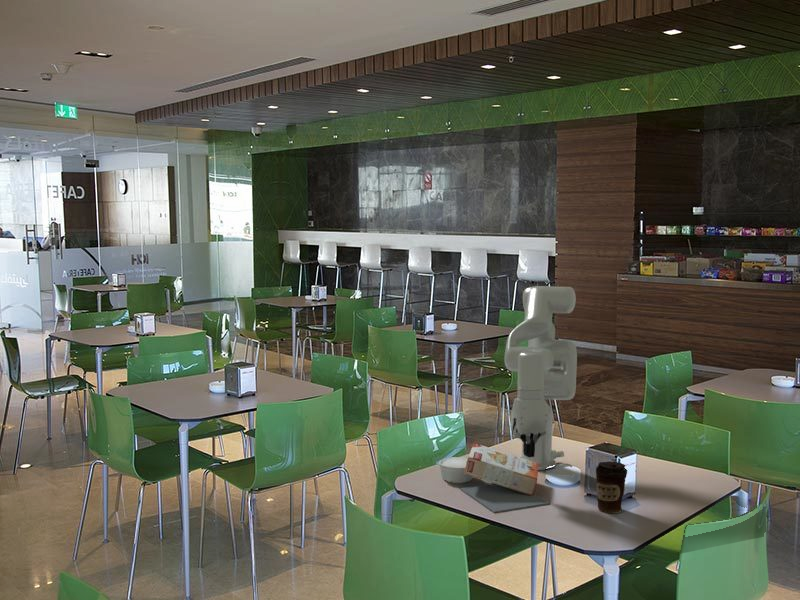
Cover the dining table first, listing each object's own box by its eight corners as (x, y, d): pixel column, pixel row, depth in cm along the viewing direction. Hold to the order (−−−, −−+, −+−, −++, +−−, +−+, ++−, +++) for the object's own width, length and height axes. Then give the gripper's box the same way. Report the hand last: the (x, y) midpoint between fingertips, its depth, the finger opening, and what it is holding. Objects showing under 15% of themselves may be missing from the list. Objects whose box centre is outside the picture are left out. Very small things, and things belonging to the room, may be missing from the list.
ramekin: (434, 474, 247) (434, 458, 246) (468, 471, 249) (468, 455, 249) (445, 486, 236) (445, 469, 235) (480, 483, 238) (480, 466, 238)
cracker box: (538, 477, 225) (468, 456, 228) (532, 496, 226) (463, 475, 229) (539, 461, 239) (473, 441, 242) (534, 479, 240) (468, 459, 243)
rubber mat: (512, 482, 239) (513, 480, 239) (549, 504, 221) (549, 502, 221) (460, 489, 232) (460, 488, 232) (493, 513, 214) (493, 511, 214)
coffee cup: (621, 518, 211) (622, 471, 210) (590, 512, 215) (592, 466, 214) (628, 507, 218) (630, 462, 217) (599, 502, 223) (600, 457, 221)
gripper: (544, 389, 233) (543, 449, 235) (501, 393, 227) (500, 455, 229) (559, 394, 226) (557, 456, 228) (515, 398, 220) (513, 462, 222)
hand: (528, 455), depth 228 cm, fingers closed
